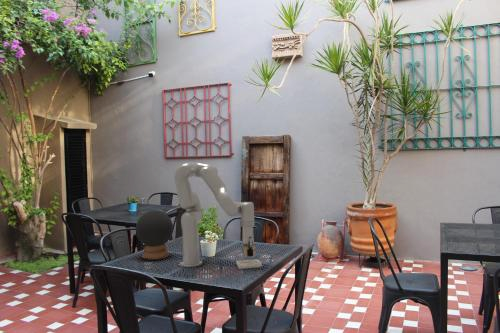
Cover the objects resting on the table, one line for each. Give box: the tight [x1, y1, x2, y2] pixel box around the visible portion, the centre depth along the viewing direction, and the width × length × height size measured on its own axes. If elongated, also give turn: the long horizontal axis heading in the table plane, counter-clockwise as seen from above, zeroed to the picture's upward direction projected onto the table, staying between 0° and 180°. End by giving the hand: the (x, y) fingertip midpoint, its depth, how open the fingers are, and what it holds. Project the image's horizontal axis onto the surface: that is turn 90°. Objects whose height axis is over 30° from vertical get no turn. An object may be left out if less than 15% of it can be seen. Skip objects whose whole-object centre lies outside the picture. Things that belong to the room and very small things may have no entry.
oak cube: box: [242, 243, 256, 258], centre depth 255 cm, size 6×6×6 cm
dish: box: [235, 259, 263, 270], centre depth 255 cm, size 10×13×2 cm
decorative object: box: [135, 209, 174, 261], centre depth 282 cm, size 23×23×30 cm
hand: (249, 254), depth 255 cm, fingers closed on oak cube, 6 cm apart
